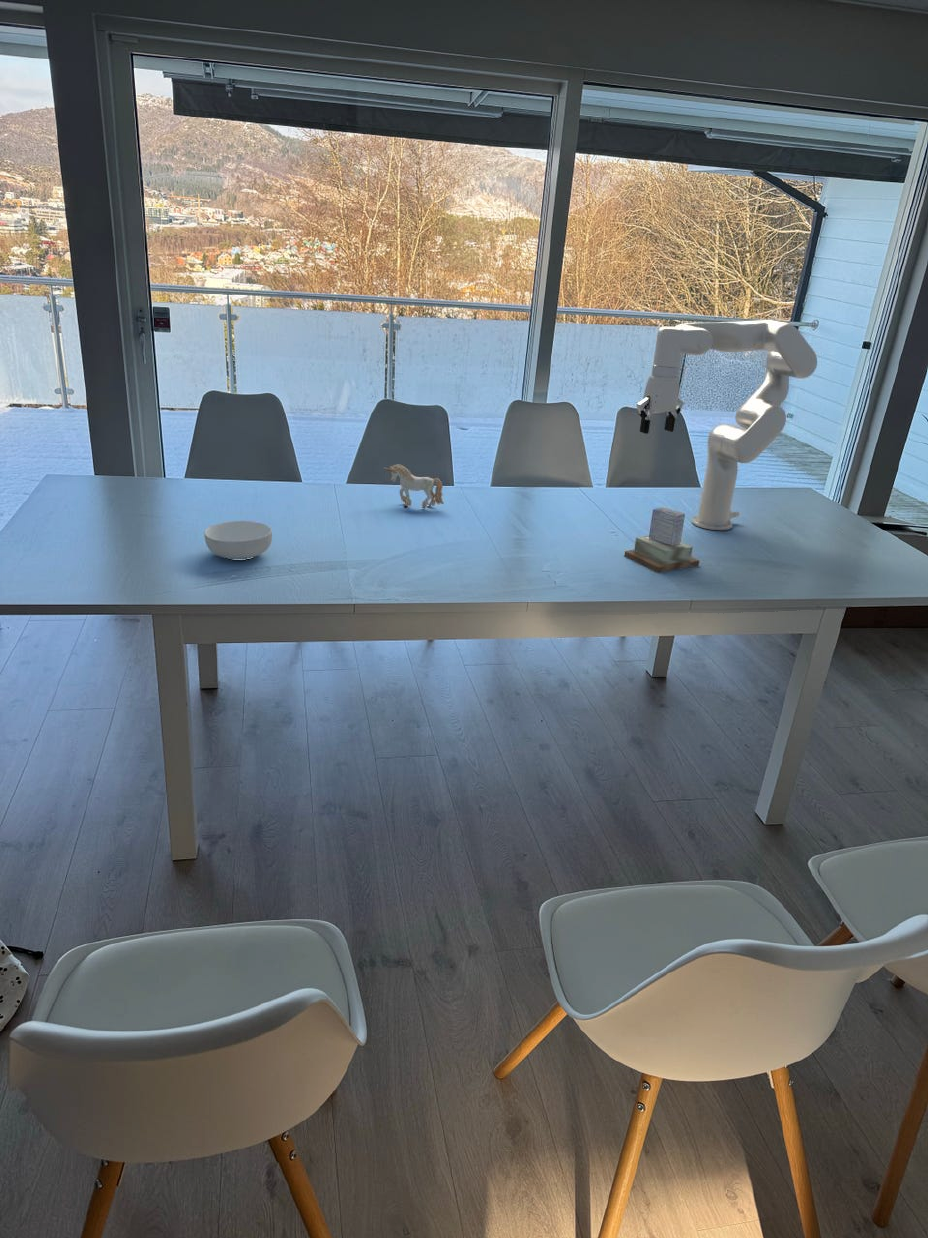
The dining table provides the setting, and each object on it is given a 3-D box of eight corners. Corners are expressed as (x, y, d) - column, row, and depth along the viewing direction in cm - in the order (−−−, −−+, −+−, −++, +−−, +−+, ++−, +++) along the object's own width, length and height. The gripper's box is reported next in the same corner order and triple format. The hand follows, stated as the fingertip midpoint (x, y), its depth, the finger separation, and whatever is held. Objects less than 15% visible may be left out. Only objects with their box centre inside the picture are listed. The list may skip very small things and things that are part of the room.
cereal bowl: (250, 541, 241) (249, 516, 239) (285, 558, 231) (284, 532, 228) (193, 553, 230) (191, 527, 227) (227, 572, 220) (226, 545, 217)
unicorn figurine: (380, 503, 281) (381, 461, 275) (440, 503, 285) (442, 462, 279) (382, 509, 275) (383, 467, 269) (444, 510, 278) (446, 468, 273)
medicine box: (680, 543, 244) (686, 513, 241) (671, 546, 241) (676, 516, 238) (657, 535, 249) (662, 506, 246) (647, 538, 246) (652, 508, 243)
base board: (663, 549, 257) (667, 530, 254) (698, 565, 246) (702, 546, 243) (624, 556, 249) (627, 536, 247) (658, 572, 238) (661, 552, 236)
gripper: (678, 369, 260) (669, 427, 267) (633, 370, 251) (625, 430, 258) (696, 373, 254) (687, 432, 261) (651, 374, 246) (642, 436, 253)
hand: (656, 431), depth 260 cm, fingers open, 9 cm apart
